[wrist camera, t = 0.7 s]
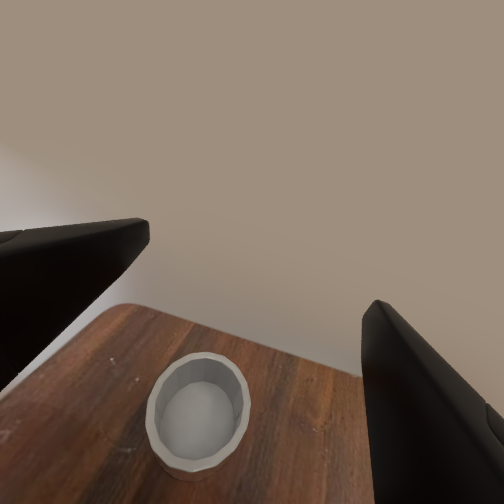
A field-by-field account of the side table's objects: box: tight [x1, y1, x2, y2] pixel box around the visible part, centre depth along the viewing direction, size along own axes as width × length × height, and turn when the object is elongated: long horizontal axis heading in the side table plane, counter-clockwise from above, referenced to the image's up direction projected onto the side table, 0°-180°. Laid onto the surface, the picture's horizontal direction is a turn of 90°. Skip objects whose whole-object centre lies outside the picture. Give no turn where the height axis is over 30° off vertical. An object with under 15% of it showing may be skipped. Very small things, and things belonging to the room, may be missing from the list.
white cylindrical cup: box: [145, 352, 251, 482], centre depth 16 cm, size 7×7×5 cm
